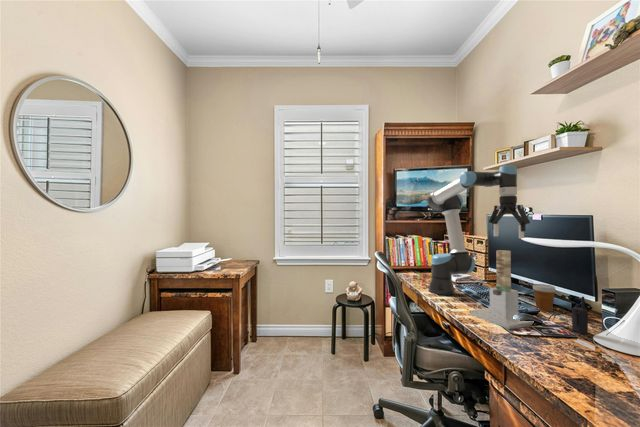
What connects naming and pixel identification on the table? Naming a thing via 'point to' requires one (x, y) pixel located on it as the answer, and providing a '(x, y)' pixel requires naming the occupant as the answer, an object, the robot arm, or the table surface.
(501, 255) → the post
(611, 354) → the table surface
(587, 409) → the table surface
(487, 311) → the stand
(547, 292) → the disposable coffee cup
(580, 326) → the two-way radio
